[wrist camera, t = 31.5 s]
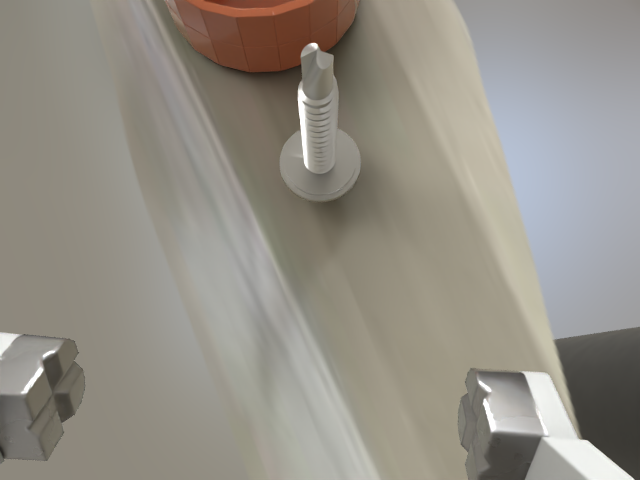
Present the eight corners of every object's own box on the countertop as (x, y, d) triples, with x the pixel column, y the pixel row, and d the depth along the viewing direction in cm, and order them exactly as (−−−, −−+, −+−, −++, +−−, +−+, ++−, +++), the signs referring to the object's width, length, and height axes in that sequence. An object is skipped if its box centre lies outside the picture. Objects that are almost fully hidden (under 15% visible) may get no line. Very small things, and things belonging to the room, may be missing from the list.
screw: (361, 208, 32) (284, 213, 32) (355, 137, 33) (280, 142, 33) (385, 101, 19) (256, 109, 19) (373, -8, 21) (252, 0, 20)
